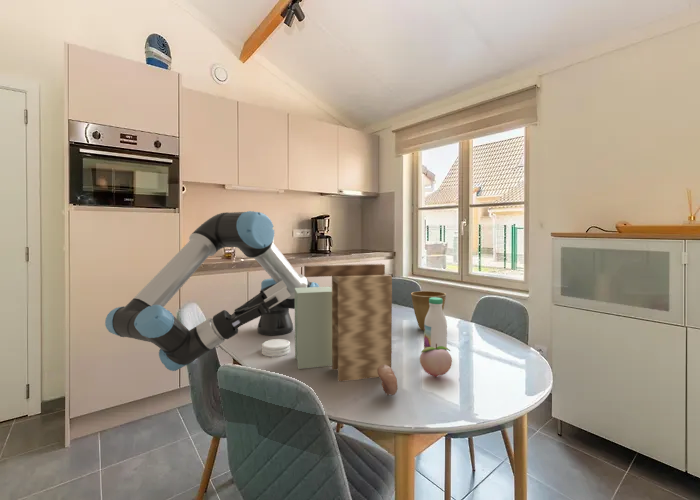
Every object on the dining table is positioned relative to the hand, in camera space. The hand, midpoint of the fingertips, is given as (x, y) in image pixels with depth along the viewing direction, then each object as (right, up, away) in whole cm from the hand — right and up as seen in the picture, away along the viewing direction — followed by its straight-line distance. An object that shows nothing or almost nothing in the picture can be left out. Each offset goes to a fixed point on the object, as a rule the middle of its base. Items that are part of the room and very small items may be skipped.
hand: (286, 287), depth 98 cm
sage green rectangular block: (+6, -26, +16) cm, 31 cm away
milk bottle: (+48, -26, +22) cm, 59 cm away
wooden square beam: (+17, +3, +4) cm, 18 cm away
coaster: (-8, -26, +25) cm, 37 cm away
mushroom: (+28, -28, -8) cm, 40 cm away
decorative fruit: (+44, -27, +3) cm, 52 cm away
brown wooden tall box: (+22, -27, +7) cm, 35 cm away
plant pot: (+53, -25, +53) cm, 79 cm away
